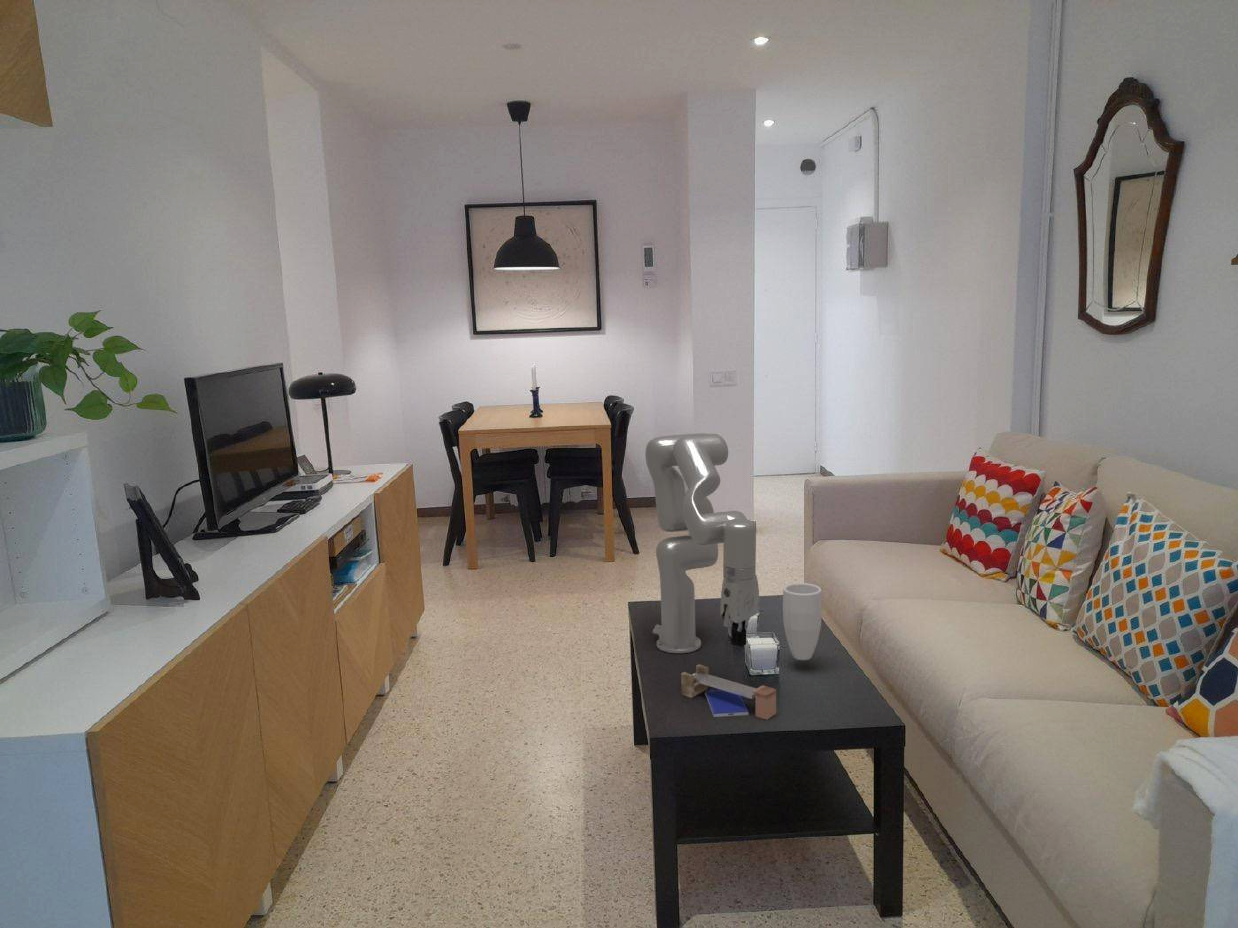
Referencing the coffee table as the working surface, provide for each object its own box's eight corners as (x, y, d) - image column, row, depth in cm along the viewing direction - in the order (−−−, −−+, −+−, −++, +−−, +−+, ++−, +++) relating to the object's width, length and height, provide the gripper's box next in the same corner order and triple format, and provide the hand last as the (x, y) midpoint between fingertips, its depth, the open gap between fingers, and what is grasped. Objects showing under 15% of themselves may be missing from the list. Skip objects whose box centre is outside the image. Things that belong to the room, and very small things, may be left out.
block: (753, 715, 193) (753, 690, 192) (763, 709, 196) (762, 685, 195) (766, 719, 190) (766, 695, 189) (776, 713, 193) (776, 689, 192)
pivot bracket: (681, 694, 205) (681, 673, 204) (699, 684, 210) (699, 664, 209) (691, 697, 203) (690, 676, 202) (709, 687, 208) (708, 667, 207)
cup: (773, 667, 219) (773, 588, 216) (797, 656, 226) (797, 579, 223) (807, 678, 212) (807, 597, 208) (830, 666, 218) (831, 587, 215)
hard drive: (704, 689, 205) (713, 712, 193) (737, 687, 205) (748, 710, 193) (705, 695, 205) (713, 719, 193) (737, 693, 206) (748, 716, 193)
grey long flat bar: (688, 680, 205) (687, 675, 205) (697, 675, 208) (697, 669, 208) (751, 700, 193) (751, 694, 192) (761, 694, 195) (761, 688, 195)
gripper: (733, 583, 188) (733, 659, 192) (770, 566, 199) (769, 639, 202) (707, 576, 193) (707, 650, 197) (744, 560, 204) (743, 631, 207)
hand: (738, 644), depth 200 cm, fingers closed
